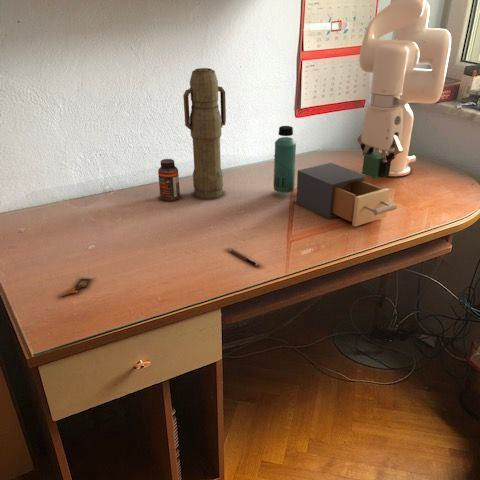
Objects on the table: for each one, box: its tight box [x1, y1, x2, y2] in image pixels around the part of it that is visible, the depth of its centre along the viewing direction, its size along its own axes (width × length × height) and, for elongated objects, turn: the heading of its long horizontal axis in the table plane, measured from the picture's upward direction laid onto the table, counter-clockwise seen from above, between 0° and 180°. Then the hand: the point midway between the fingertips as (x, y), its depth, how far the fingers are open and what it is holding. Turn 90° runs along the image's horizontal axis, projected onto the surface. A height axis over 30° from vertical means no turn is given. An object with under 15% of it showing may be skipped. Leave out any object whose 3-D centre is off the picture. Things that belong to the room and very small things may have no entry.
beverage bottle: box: [273, 125, 297, 194], centre depth 158 cm, size 6×7×20 cm
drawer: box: [332, 180, 398, 227], centre depth 144 cm, size 18×11×8 cm, turn 33°
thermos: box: [182, 67, 227, 200], centre depth 154 cm, size 9×12×35 cm
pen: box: [229, 249, 260, 267], centre depth 127 cm, size 11×1×1 cm, turn 38°
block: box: [361, 151, 391, 180], centre depth 140 cm, size 5×5×5 cm
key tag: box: [61, 278, 91, 297], centre depth 116 cm, size 8×3×1 cm, turn 162°
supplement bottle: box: [157, 158, 181, 202], centre depth 158 cm, size 6×6×11 cm
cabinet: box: [295, 162, 367, 219], centre depth 152 cm, size 15×13×10 cm
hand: (375, 172), depth 142 cm, fingers closed on block, 5 cm apart
